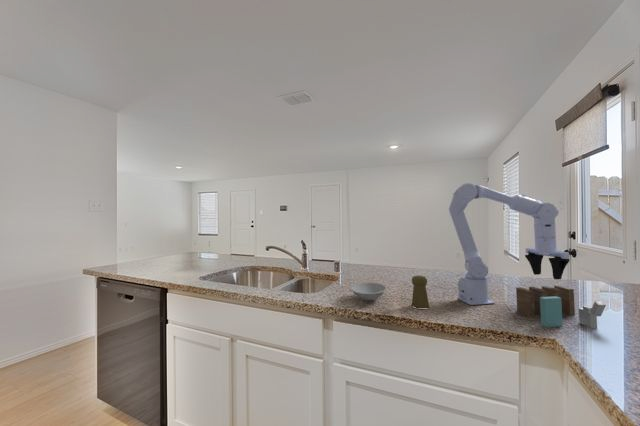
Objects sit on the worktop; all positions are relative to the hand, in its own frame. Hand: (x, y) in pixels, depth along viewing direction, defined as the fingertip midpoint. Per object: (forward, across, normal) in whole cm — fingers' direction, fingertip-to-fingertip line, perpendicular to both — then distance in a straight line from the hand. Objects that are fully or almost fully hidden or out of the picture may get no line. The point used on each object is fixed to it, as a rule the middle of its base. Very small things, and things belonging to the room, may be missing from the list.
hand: (546, 276), depth 94 cm
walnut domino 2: (+10, -6, +9) cm, 15 cm away
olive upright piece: (+10, +8, +42) cm, 44 cm away
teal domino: (+10, -15, +14) cm, 23 cm away
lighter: (+10, -18, +4) cm, 21 cm away
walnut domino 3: (+10, -6, +5) cm, 13 cm away
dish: (+11, +19, +58) cm, 62 cm away
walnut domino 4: (+10, -6, 0) cm, 12 cm away
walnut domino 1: (+10, -6, +14) cm, 18 cm away
